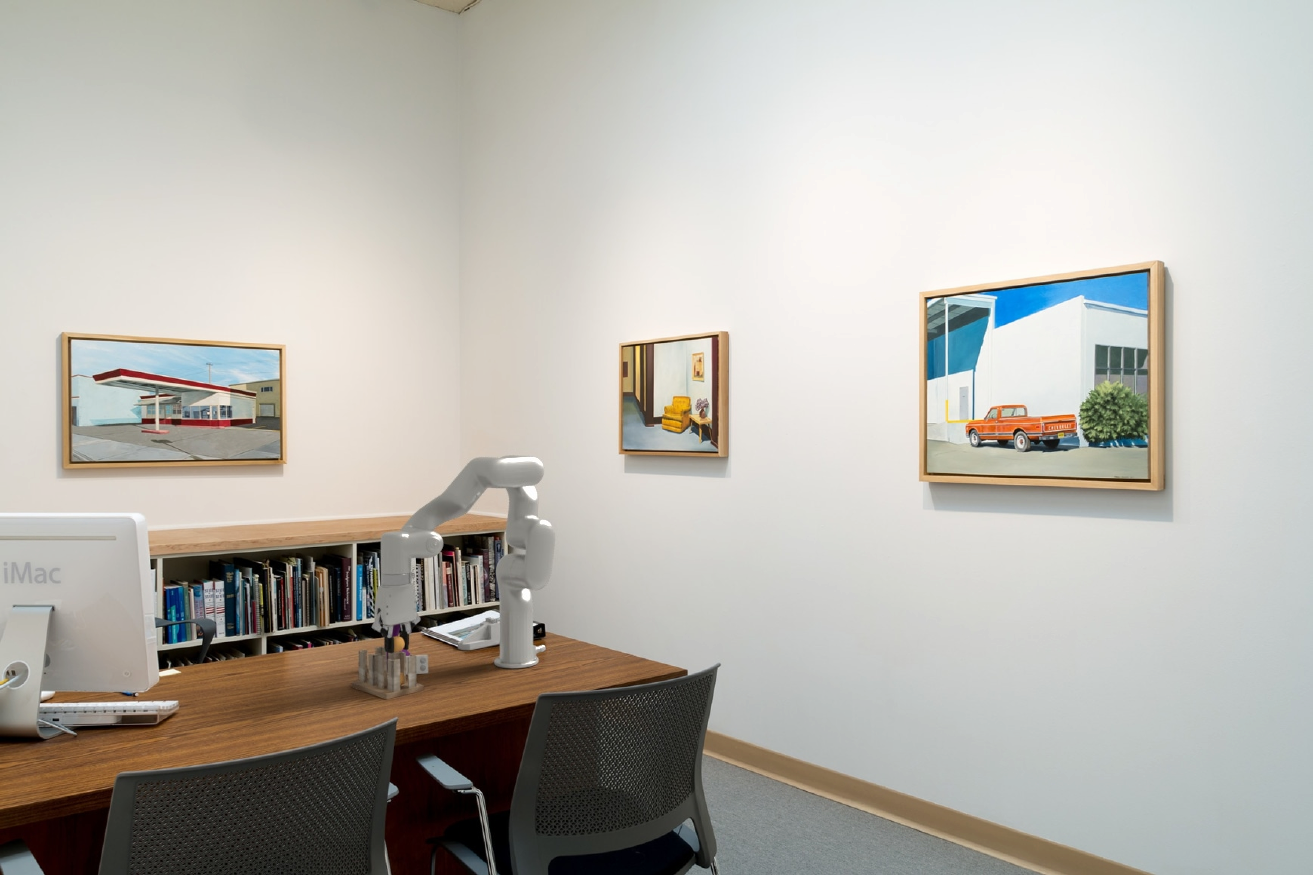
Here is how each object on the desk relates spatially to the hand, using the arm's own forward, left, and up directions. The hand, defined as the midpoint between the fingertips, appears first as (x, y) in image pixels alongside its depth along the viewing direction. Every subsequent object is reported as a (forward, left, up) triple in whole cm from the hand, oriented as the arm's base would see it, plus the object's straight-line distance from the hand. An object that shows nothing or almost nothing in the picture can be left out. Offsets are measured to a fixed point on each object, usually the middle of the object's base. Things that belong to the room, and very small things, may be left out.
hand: (396, 649), depth 233 cm
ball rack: (0, -4, -11) cm, 12 cm away
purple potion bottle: (-12, -21, -11) cm, 27 cm away
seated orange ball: (0, 0, -10) cm, 10 cm away
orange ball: (0, 0, 0) cm, 0 cm away
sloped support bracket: (-47, -24, -11) cm, 54 cm away
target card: (-12, -11, -11) cm, 20 cm away
